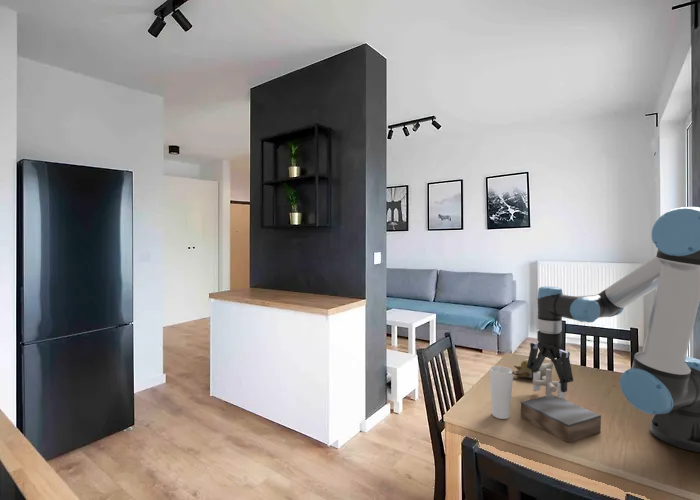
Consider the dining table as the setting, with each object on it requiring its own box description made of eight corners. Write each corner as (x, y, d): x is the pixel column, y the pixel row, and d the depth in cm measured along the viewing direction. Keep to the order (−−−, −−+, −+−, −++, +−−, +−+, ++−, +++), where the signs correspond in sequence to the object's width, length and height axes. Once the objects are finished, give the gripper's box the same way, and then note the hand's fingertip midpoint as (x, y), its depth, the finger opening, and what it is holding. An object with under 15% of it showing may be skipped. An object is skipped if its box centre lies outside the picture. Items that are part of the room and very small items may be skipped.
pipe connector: (569, 405, 127) (569, 375, 126) (537, 402, 129) (537, 373, 128) (559, 393, 136) (559, 365, 136) (529, 391, 138) (529, 364, 138)
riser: (600, 432, 110) (601, 415, 110) (568, 442, 104) (568, 425, 104) (551, 409, 125) (551, 394, 125) (520, 417, 119) (520, 401, 119)
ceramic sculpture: (552, 362, 145) (510, 358, 152) (553, 385, 145) (511, 380, 152) (553, 355, 154) (513, 352, 161) (554, 376, 154) (514, 372, 161)
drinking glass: (485, 415, 121) (485, 368, 120) (496, 409, 125) (496, 364, 124) (505, 423, 115) (506, 374, 115) (516, 416, 120) (516, 369, 119)
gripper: (586, 337, 124) (585, 405, 124) (530, 323, 143) (530, 382, 144) (571, 339, 120) (570, 409, 121) (516, 325, 140) (515, 385, 141)
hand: (548, 395), depth 132 cm, fingers closed on pipe connector, 9 cm apart
